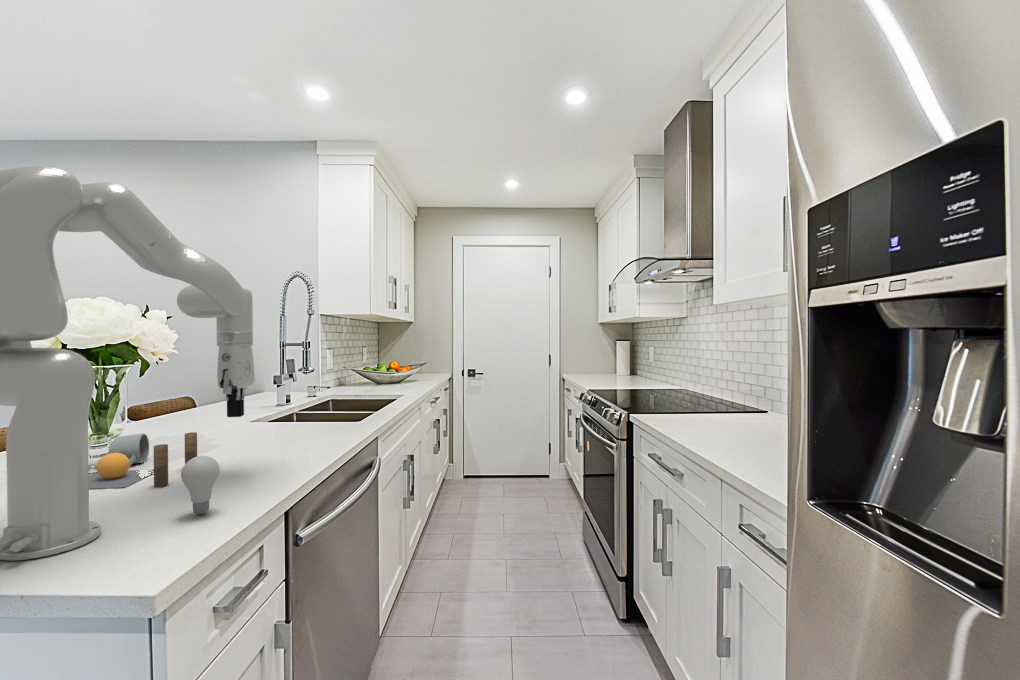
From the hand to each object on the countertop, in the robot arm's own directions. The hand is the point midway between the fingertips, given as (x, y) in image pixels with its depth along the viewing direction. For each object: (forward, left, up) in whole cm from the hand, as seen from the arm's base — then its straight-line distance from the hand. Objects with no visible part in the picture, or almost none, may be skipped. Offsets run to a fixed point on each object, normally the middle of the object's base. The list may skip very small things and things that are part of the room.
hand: (235, 416), depth 115 cm
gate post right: (+7, +13, -14) cm, 20 cm away
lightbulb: (-26, -4, -14) cm, 30 cm away
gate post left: (-6, +13, -14) cm, 20 cm away
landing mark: (0, +27, -14) cm, 30 cm away
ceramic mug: (+13, +32, -14) cm, 37 cm away
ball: (+1, +27, -11) cm, 29 cm away
